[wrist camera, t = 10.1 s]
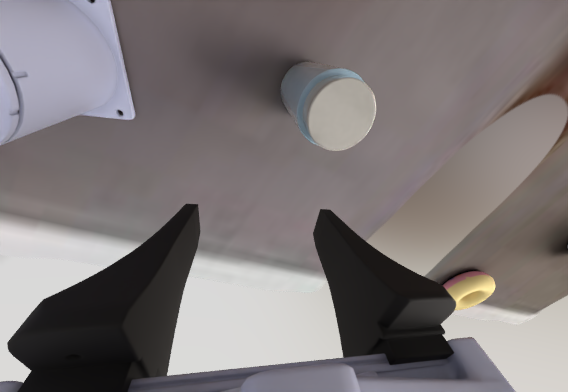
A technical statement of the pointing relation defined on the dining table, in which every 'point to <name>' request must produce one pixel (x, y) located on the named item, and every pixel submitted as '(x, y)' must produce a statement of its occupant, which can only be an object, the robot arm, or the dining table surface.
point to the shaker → (328, 104)
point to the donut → (470, 288)
